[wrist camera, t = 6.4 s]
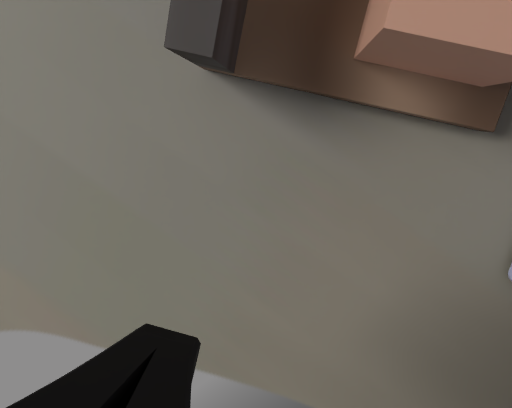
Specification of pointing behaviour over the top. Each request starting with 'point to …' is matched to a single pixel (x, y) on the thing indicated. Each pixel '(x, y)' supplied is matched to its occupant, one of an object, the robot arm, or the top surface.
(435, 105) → the cargo strip
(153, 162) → the top surface
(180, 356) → the robot arm
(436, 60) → the terracotta block
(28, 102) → the top surface
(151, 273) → the top surface
